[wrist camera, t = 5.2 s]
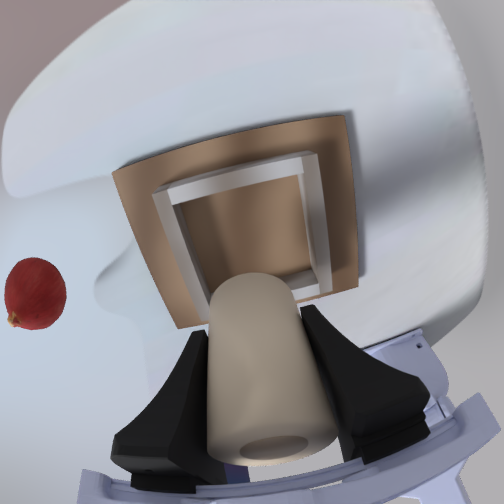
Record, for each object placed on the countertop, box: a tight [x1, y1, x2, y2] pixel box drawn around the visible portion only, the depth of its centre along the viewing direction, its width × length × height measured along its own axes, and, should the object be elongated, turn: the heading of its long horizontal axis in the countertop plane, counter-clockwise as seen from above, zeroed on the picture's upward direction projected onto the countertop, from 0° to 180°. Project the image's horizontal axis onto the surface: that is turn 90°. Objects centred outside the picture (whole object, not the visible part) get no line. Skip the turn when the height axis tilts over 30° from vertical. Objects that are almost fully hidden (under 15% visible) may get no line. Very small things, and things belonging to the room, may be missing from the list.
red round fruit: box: [4, 258, 66, 330], centre depth 17 cm, size 6×6×8 cm
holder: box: [112, 115, 358, 329], centre depth 19 cm, size 16×14×3 cm
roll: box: [207, 272, 339, 466], centre depth 11 cm, size 5×5×8 cm
